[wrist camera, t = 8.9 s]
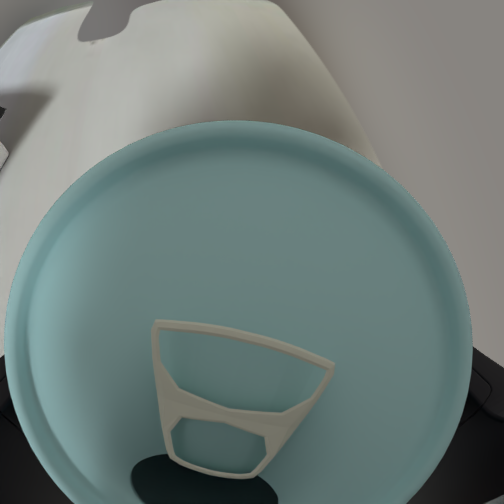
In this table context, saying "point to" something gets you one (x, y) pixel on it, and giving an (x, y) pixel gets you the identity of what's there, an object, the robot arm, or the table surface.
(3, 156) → the food packaging
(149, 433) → the can
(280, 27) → the table surface
